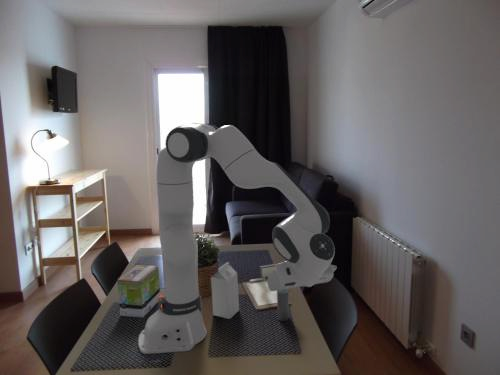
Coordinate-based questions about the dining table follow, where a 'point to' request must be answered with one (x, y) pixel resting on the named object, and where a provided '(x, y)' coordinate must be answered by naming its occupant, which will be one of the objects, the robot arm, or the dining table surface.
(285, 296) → the microphone
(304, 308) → the dining table surface
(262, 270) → the picture frame
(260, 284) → the clipboard
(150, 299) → the tea box
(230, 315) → the milk carton
